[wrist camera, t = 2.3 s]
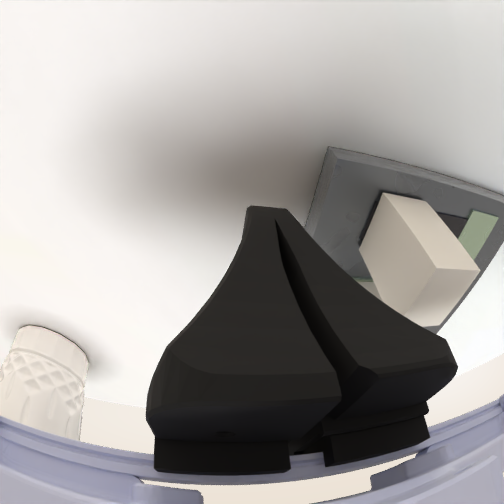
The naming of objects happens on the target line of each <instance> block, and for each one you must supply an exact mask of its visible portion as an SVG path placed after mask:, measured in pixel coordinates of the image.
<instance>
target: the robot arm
mask: <svg viewBox="0 0 504 504" xmlns="http://www.w3.org/2000/svg"><path fill="white" fill-rule="evenodd" d="M457 369H458V366H457V363H456V361H455V359H454V356H453V354H452V352H451V349H450V347H449V345H448V343H447V341H446V339H444V338H442V337H440V336H438V335H436V334H435V333H433V332H431V331H429V330H427V329H425V328H423V327H421V326H420V325H418V324H416V323H414V322H413V321H411V320H410V319H408V318H406V317H405V316H403V315H402V314H400V313H398V312H397V311H395V310H394V309H392V308H391V307H389V306H388V305H387V304H385V303H384V302H382V301H381V300H380V299H378V298H377V297H376V296H374V295H373V294H372V293H370V292H369V291H368V290H366V289H365V288H364V287H363V286H361V285H360V284H359V283H358V282H357V281H356V280H354V279H353V278H352V277H351V276H350V275H349V274H347V273H346V272H345V271H344V270H343V269H342V268H341V267H340V266H339V265H338V264H337V263H336V262H335V261H334V260H333V259H332V258H331V257H330V256H329V255H328V254H327V253H326V252H325V251H324V250H323V249H322V248H321V247H320V246H319V245H318V244H317V243H316V242H315V240H314V239H313V238H312V237H311V236H310V235H309V234H308V233H307V231H306V230H305V229H304V228H303V227H302V226H301V224H300V223H299V222H298V221H297V220H296V219H295V218H294V216H293V215H292V214H291V213H290V212H289V211H288V210H287V209H282V208H272V207H262V206H249V207H248V208H247V211H246V217H245V223H244V229H243V235H242V240H241V243H240V245H239V247H238V250H237V252H236V254H235V256H234V259H233V261H232V262H231V264H230V266H229V268H228V270H227V272H226V273H225V275H224V277H223V278H222V280H221V282H220V283H219V285H218V286H217V288H216V289H215V291H214V292H213V294H212V295H211V296H210V298H209V299H208V301H207V302H206V303H205V304H204V306H203V307H202V308H201V309H200V310H199V312H198V313H197V314H196V315H195V317H194V318H193V319H192V320H191V321H190V323H189V324H188V325H187V326H186V327H185V328H184V329H183V330H182V331H181V332H180V333H179V334H178V335H177V336H176V337H175V338H174V339H173V340H172V341H171V342H170V344H169V345H168V346H167V347H166V349H165V351H164V353H163V355H162V357H161V359H160V361H159V363H158V365H157V368H156V370H155V372H154V375H153V377H152V380H151V383H150V387H149V391H148V395H147V406H146V421H147V423H148V424H149V426H150V428H151V430H152V432H153V434H154V435H155V445H154V454H145V453H138V452H131V451H125V450H119V449H113V448H108V447H103V446H98V445H93V444H89V443H85V442H80V441H77V440H73V439H69V438H65V437H61V436H58V435H54V434H51V433H48V432H44V431H41V430H38V429H35V428H32V427H29V426H26V425H24V424H21V423H18V422H15V421H13V420H10V419H8V418H5V417H3V416H0V504H203V496H202V495H201V493H200V492H199V491H198V490H188V489H179V488H171V487H164V486H157V485H149V484H144V482H143V481H141V480H140V479H143V480H151V481H159V482H168V483H180V484H198V485H250V484H268V483H280V482H289V481H298V480H306V479H312V478H319V477H324V476H331V475H336V474H341V473H346V472H351V471H355V470H359V469H363V468H368V467H372V466H376V465H379V464H383V463H386V462H390V461H393V460H397V459H400V458H403V457H406V456H409V455H412V454H415V453H417V454H416V456H415V458H413V459H410V460H408V461H405V462H403V463H401V464H399V465H397V466H395V467H393V468H390V469H388V470H385V471H382V472H379V473H377V474H374V475H371V477H370V480H371V486H372V488H371V490H370V491H366V492H363V493H359V494H355V495H351V496H347V497H342V498H338V499H333V500H329V501H323V502H318V503H312V504H504V478H503V472H504V394H503V395H502V396H501V397H500V398H499V399H497V400H495V401H493V402H491V403H489V404H487V405H484V406H482V407H480V408H478V409H475V410H473V411H471V412H469V413H466V414H464V415H461V416H458V417H456V418H453V419H450V420H448V421H445V422H442V423H439V424H436V425H434V426H431V427H427V425H426V421H425V418H424V415H426V414H427V413H428V412H429V409H428V406H427V402H426V401H427V400H428V399H430V398H431V397H432V396H433V395H435V394H436V393H437V392H439V391H440V390H441V389H442V388H444V387H445V386H446V385H447V384H448V383H449V382H450V381H451V380H452V379H453V377H454V376H455V375H456V372H457Z"/></svg>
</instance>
